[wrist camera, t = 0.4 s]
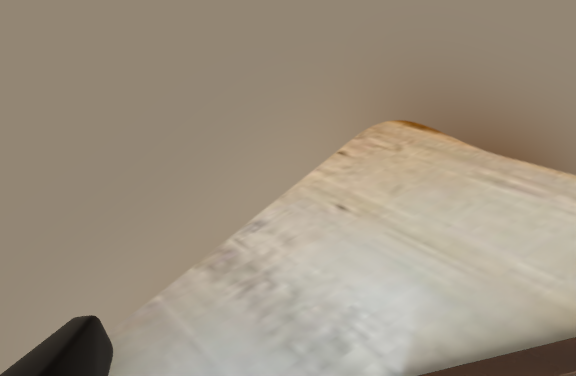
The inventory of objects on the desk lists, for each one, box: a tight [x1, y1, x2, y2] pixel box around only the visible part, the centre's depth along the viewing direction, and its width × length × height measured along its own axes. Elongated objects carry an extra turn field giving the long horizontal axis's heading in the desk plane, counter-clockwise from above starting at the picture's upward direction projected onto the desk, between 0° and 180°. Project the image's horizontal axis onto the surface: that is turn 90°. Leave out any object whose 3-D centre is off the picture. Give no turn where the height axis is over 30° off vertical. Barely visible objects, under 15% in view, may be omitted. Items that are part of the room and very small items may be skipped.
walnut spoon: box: [419, 337, 576, 376], centre depth 21 cm, size 5×16×1 cm, turn 96°
